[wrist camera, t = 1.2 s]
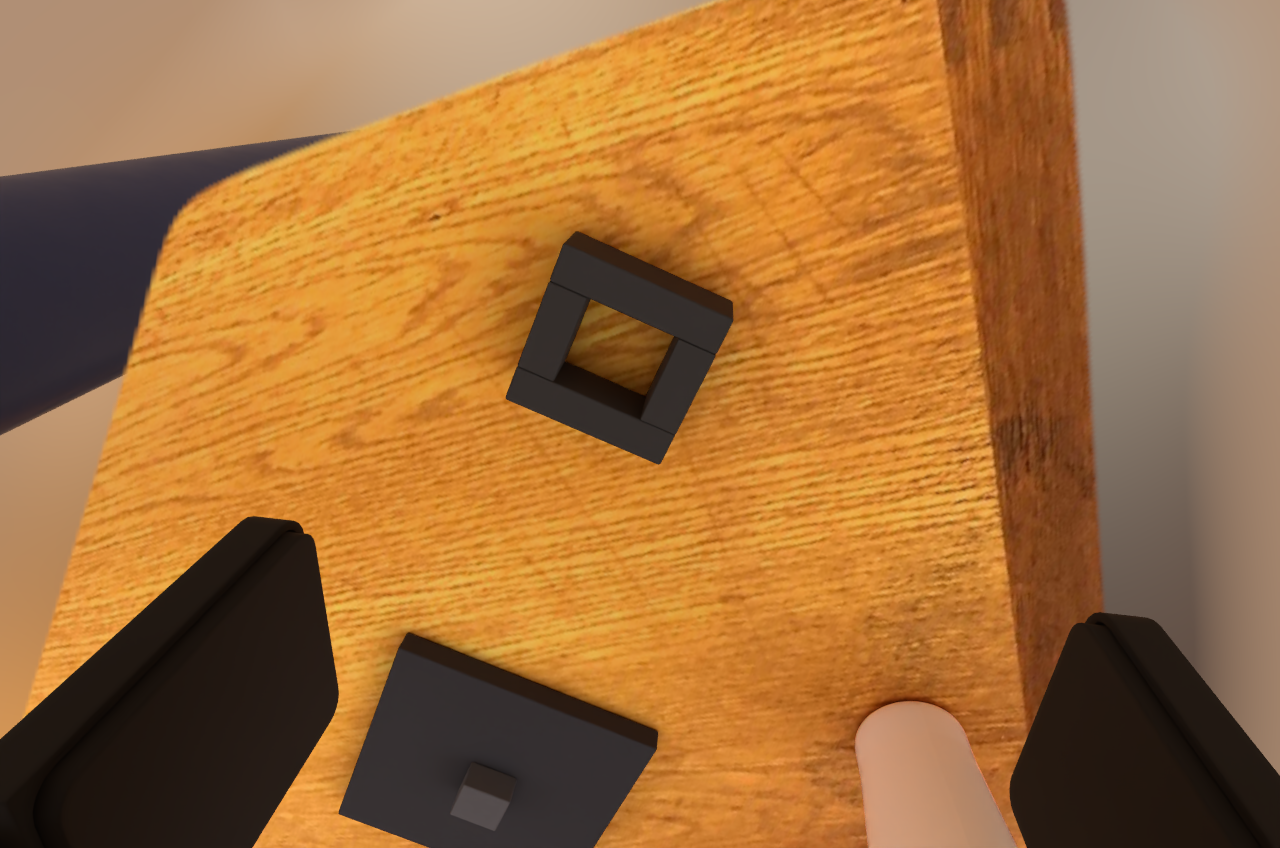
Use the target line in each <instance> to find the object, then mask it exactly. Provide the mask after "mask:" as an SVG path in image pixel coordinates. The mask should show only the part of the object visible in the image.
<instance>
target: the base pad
mask: <svg viewBox="0 0 1280 848" xmlns="http://www.w3.org/2000/svg"><path fill="white" fill-rule="evenodd" d="M657 740H658V732H657V731H655V730H653V729H650V728H648V727H645V726H643V725H640V724H638V723H635V722H633V721H630V720H628V719H625V718H623V717H620V716H618V715H615V714H612V713H610V712H607V711H605V710H602V709H600V708H597V707H595V706H592V705H590V704H587V703H585V702H582V701H580V700H577V699H575V698H572V697H569V696H567V695H564V694H562V693H559V692H557V691H554V690H552V689H549V688H547V687H544V686H542V685H539V684H537V683H534V682H532V681H529V680H527V679H524V678H521V677H519V676H516V675H514V674H511V673H509V672H506V671H504V670H501V669H499V668H496V667H494V666H491V665H489V664H486V663H484V662H481V661H479V660H476V659H473V658H471V657H468V656H466V655H463V654H461V653H458V652H456V651H453V650H451V649H448V648H446V647H443V646H441V645H438V644H436V643H433V642H430V641H428V640H425V639H423V638H420V637H418V636H415V635H413V634H410V633H408V634H406V636H405V638H404V640H403V641H402V643H401V645H400V647H399V649H398V651H397V654H396V657H395V659H394V662H393V665H392V668H391V670H390V673H389V676H388V679H387V681H386V684H385V687H384V690H383V692H382V695H381V698H380V700H379V703H378V706H377V709H376V711H375V714H374V717H373V720H372V722H371V725H370V728H369V730H368V733H367V736H366V739H365V741H364V744H363V747H362V750H361V752H360V755H359V758H358V761H357V763H356V766H355V769H354V771H353V774H352V777H351V780H350V782H349V785H348V788H347V791H346V793H345V796H344V799H343V801H342V804H341V807H340V810H339V814H340V815H343V816H345V817H348V818H351V819H354V820H356V821H359V822H362V823H364V824H367V825H370V826H372V827H375V828H378V829H380V830H383V831H386V832H389V833H391V834H394V835H397V836H399V837H402V838H405V839H407V840H410V841H413V842H416V843H418V844H421V845H424V846H426V847H429V848H594V846H595V844H596V843H597V841H598V840H599V838H600V837H601V835H602V834H603V832H604V830H605V829H606V827H607V826H608V824H609V823H610V821H611V820H612V818H613V816H614V815H615V813H616V812H617V810H618V809H619V807H620V806H621V804H622V802H623V801H624V799H625V798H626V796H627V795H628V793H629V792H630V790H631V788H632V787H633V785H634V784H635V782H636V781H637V779H638V778H639V776H640V774H641V773H642V771H643V770H644V768H645V767H646V765H647V764H648V762H649V760H650V759H651V757H652V756H653V754H654V753H655V751H656V750H657Z"/></svg>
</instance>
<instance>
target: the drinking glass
mask: <svg viewBox="0 0 1280 848" xmlns="http://www.w3.org/2000/svg"><path fill="white" fill-rule="evenodd" d="M855 752H856V758H857V763H858V768H859V773H860V779H861V788H862V797H863V806H864V815H865V825H866V835H867V844H868V848H1018V847H1017V845H1016V843H1015V841H1014V838H1013V836H1012V834H1011V832H1010V830H1009V828H1008V826H1007V824H1006V822H1005V820H1004V818H1003V816H1002V814H1001V812H1000V810H999V808H998V805H997V803H996V801H995V799H994V797H993V795H992V793H991V791H990V789H989V787H988V785H987V783H986V780H985V778H984V776H983V774H982V772H981V770H980V768H979V766H978V763H977V761H976V759H975V757H974V754H973V751H972V749H971V746H970V743H969V741H968V738H967V736H966V733H965V731H964V729H963V727H962V726H961V724H960V723H959V722H958V721H957V719H956V718H955V717H954V716H952V715H951V714H950V713H949V712H947V711H946V710H944V709H942V708H940V707H938V706H935V705H933V704H929V703H925V702H919V701H903V702H896V703H892V704H889V705H886V706H883V707H881V708H879V709H877V710H875V711H874V712H872V713H871V714H870V715H869V716H868V717H867V718H866V719H865V720H864V721H863V722H862V723H861V725H860V727H859V729H858V731H857V734H856V738H855Z"/></svg>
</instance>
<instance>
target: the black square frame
mask: <svg viewBox="0 0 1280 848" xmlns="http://www.w3.org/2000/svg"><path fill="white" fill-rule="evenodd" d="M550 280H551V281H550V282H549V283H548V286H547V288H546V291H545V294H544V296H543V299H542V302H541V304H540V307H539V310H538V312H537V315H536V318H535V320H534V323H533V325H532V328H531V331H530V333H529V336H528V339H527V341H526V344H525V347H524V349H523V352H522V355H521V357H520V360H519V363H518V366H517V368H516V371H515V373H514V376H513V379H512V381H511V384H510V387H509V389H508V392H507V395H506V399H507V400H509V401H511V402H514V403H516V404H518V405H521V406H523V407H525V408H528V409H530V410H532V411H535V412H537V413H539V414H542V415H544V416H546V417H549V418H551V419H553V420H556V421H558V422H560V423H563V424H565V425H567V426H570V427H572V428H574V429H577V430H579V431H581V432H584V433H586V434H588V435H591V436H593V437H595V438H598V439H600V440H602V441H605V442H607V443H609V444H612V445H614V446H616V447H619V448H621V449H623V450H626V451H628V452H630V453H633V454H635V455H637V456H640V457H642V458H644V459H647V460H649V461H651V462H654V463H656V464H661V462H662V460H663V458H664V456H665V454H666V452H667V450H668V448H669V446H670V444H671V442H672V440H673V438H674V436H675V434H676V433H677V431H678V429H679V427H680V425H681V423H682V421H683V419H684V417H685V415H686V413H687V411H688V409H689V407H690V405H691V403H692V401H693V399H694V397H695V395H696V393H697V392H698V390H699V388H700V386H701V384H702V382H703V380H704V378H705V376H706V374H707V372H708V370H709V368H710V366H711V364H712V362H713V360H714V358H715V354H716V353H717V352H718V350H719V348H720V346H721V344H722V342H723V340H724V338H725V336H726V334H727V332H728V330H729V328H730V326H731V324H732V323H733V303H732V301H730V300H728V299H726V298H723V297H721V296H719V295H717V294H715V293H712V292H710V291H708V290H706V289H703V288H701V287H699V286H697V285H695V284H692V283H690V282H688V281H686V280H684V279H681V278H679V277H677V276H675V275H673V274H670V273H668V272H666V271H664V270H662V269H659V268H657V267H655V266H653V265H651V264H648V263H646V262H644V261H642V260H640V259H637V258H635V257H633V256H631V255H629V254H626V253H624V252H622V251H620V250H618V249H615V248H613V247H611V246H609V245H606V244H604V243H602V242H600V241H598V240H595V239H593V238H591V237H589V236H587V235H584V234H582V233H580V232H578V231H576V232H575V233H574V234H573V235H572V236H571V237H570V238H569V239H568V240H567V241H566V242H565V243H564V244H563V246H562V249H561V251H560V254H559V257H558V259H557V262H556V265H555V267H554V270H553V272H552V275H551V278H550ZM590 299H592V300H594V301H597V302H599V303H601V304H603V305H606V306H608V307H610V308H612V309H615V310H617V311H619V312H621V313H624V314H626V315H628V316H630V317H632V318H635V319H637V320H639V321H641V322H644V323H646V324H648V325H650V326H653V327H655V328H657V329H659V330H662V331H664V332H666V333H668V334H671V335H673V336H674V338H673V340H672V342H671V344H670V346H669V348H668V350H667V352H666V354H665V357H664V359H663V361H662V363H661V365H660V367H659V369H658V371H657V373H656V375H655V378H654V380H653V382H652V384H651V386H650V388H649V390H648V392H647V394H646V397H645V396H643V395H641V394H639V393H636V392H634V391H632V390H629V389H627V388H625V387H623V386H620V385H618V384H616V383H613V382H611V381H609V380H607V379H604V378H602V377H600V376H597V375H595V374H593V373H590V372H588V371H586V370H584V369H581V368H579V367H577V366H574V365H572V364H570V363H568V362H565V360H566V358H567V356H568V353H569V351H570V348H571V346H572V343H573V341H574V339H575V336H576V334H577V331H578V329H579V326H580V324H581V321H582V319H583V317H584V314H585V312H586V309H587V307H588V304H589V302H590Z"/></svg>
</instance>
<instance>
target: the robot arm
mask: <svg viewBox="0 0 1280 848" xmlns="http://www.w3.org/2000/svg"><path fill="white" fill-rule="evenodd" d="M338 696H339V691H338V683H337V677H336V670H335V664H334V658H333V652H332V646H331V639H330V633H329V627H328V621H327V614H326V608H325V602H324V596H323V590H322V583H321V577H320V571H319V565H318V558H317V552H316V546H315V542H314V539H313V538H312V536H311V535H308V534H304V532H303V528H302V527H301V526H300V524H299V523H297V522H295V521H291V520H282V519H273V518H264V517H255V516H253V517H247V518H246V519H244V520H243V521H241V522H240V523H239V524H238V525H237V526H236V527H234V528H233V529H232V530H231V531H230V532H229V533H228V534H227V535H226V536H224V537H223V538H222V539H221V540H220V541H219V542H218V543H217V544H216V545H215V546H213V547H212V548H211V549H210V550H209V551H208V552H207V553H206V554H205V555H203V556H202V557H201V558H200V559H199V560H198V561H197V562H196V563H195V564H194V565H192V566H191V567H190V568H189V569H188V570H187V571H186V572H185V573H184V574H182V575H181V576H180V577H179V578H178V579H177V580H176V581H175V582H174V583H173V584H171V585H170V586H169V587H168V588H167V589H166V590H165V591H164V592H163V593H161V594H160V595H159V596H158V597H157V598H156V599H155V600H154V601H153V602H152V603H150V604H149V605H148V606H147V607H146V608H145V609H144V610H143V611H142V612H140V613H139V614H138V615H137V616H136V617H135V618H134V619H133V620H132V621H131V622H129V623H128V624H127V625H126V626H125V627H124V628H123V629H122V630H121V631H119V632H118V633H117V634H116V635H115V636H114V637H113V638H112V639H111V640H109V641H108V642H107V643H106V644H105V645H104V646H103V647H102V648H101V649H100V650H98V651H97V652H96V653H95V654H94V655H93V656H92V657H91V658H90V659H88V660H87V661H86V662H85V663H84V664H83V665H82V666H81V667H80V668H79V669H77V670H76V671H75V672H74V673H73V674H72V675H71V676H70V677H69V678H67V679H66V680H65V681H64V682H63V683H62V684H61V685H60V686H59V687H58V688H56V689H55V690H54V691H53V692H52V693H51V694H50V695H49V696H48V697H46V698H45V699H44V700H43V701H42V702H41V703H40V704H39V705H38V706H37V707H35V708H34V709H33V710H32V711H31V712H30V713H29V714H28V715H27V716H25V717H24V718H23V719H22V720H21V721H20V722H19V723H18V724H17V725H16V726H15V727H13V728H12V729H11V730H10V731H9V732H8V733H7V734H6V735H4V736H3V737H2V738H1V739H0V848H252V847H253V846H254V844H255V842H256V841H257V839H258V838H259V836H260V834H261V833H262V831H263V829H264V828H265V826H266V825H267V823H268V821H269V820H270V818H271V817H272V815H273V813H274V812H275V810H276V809H277V807H278V805H279V804H280V802H281V800H282V799H283V797H284V796H285V794H286V792H287V791H288V789H289V788H290V786H291V784H292V783H293V781H294V780H295V778H296V776H297V775H298V773H299V771H300V770H301V768H302V767H303V765H304V763H305V762H306V760H307V759H308V757H309V755H310V754H311V752H312V750H313V749H314V747H315V746H316V744H317V742H318V741H319V739H320V738H321V736H322V734H323V733H324V731H325V730H326V728H327V726H328V725H329V723H330V721H331V719H332V718H333V716H334V713H335V710H336V707H337V703H338ZM1010 801H1011V806H1012V810H1013V813H1014V816H1015V818H1016V821H1017V823H1018V826H1019V828H1020V831H1021V833H1022V836H1023V839H1024V841H1025V844H1026V846H1027V848H1280V776H1279V774H1278V773H1277V772H1276V770H1275V769H1274V768H1273V767H1272V766H1271V764H1270V763H1269V762H1268V760H1267V759H1266V758H1265V757H1264V755H1263V754H1262V753H1261V752H1260V750H1259V749H1258V748H1257V747H1256V745H1255V744H1254V743H1253V742H1252V740H1250V738H1249V737H1248V736H1247V734H1246V733H1245V732H1244V730H1243V729H1242V728H1241V727H1240V725H1239V724H1238V723H1237V722H1236V720H1235V719H1234V718H1233V716H1232V715H1231V714H1230V713H1229V711H1228V710H1227V709H1226V708H1225V707H1224V705H1223V704H1222V703H1221V702H1220V700H1219V699H1218V698H1217V696H1216V695H1215V694H1214V693H1213V691H1212V690H1211V689H1210V688H1209V686H1208V685H1207V684H1206V683H1205V681H1204V680H1203V679H1202V678H1201V676H1200V675H1199V674H1198V673H1197V671H1196V670H1195V669H1194V667H1193V666H1192V665H1191V664H1190V662H1189V661H1188V660H1187V659H1186V657H1185V656H1184V655H1183V654H1182V653H1181V651H1180V650H1179V649H1178V647H1177V646H1176V645H1175V644H1174V642H1173V641H1172V640H1171V639H1170V637H1169V636H1168V635H1167V634H1166V632H1165V631H1164V630H1163V629H1162V627H1161V626H1160V625H1159V624H1158V623H1156V622H1155V621H1154V620H1152V619H1149V618H1145V617H1144V618H1143V617H1136V616H1127V615H1118V614H1109V613H1101V612H1099V613H1094V614H1092V615H1091V616H1090V617H1089V618H1088V619H1087V621H1086V622H1085V623H1077V624H1076V625H1074V626H1073V627H1072V629H1071V631H1070V633H1069V635H1068V638H1067V640H1066V643H1065V645H1064V648H1063V650H1062V653H1061V655H1060V658H1059V660H1058V663H1057V665H1056V668H1055V670H1054V673H1053V675H1052V678H1051V680H1050V682H1049V685H1048V687H1047V690H1046V692H1045V695H1044V697H1043V700H1042V702H1041V705H1040V707H1039V710H1038V712H1037V715H1036V717H1035V720H1034V722H1033V725H1032V727H1031V730H1030V732H1029V735H1028V737H1027V740H1026V742H1025V745H1024V747H1023V750H1022V752H1021V755H1020V757H1019V760H1018V762H1017V764H1016V767H1015V769H1014V772H1013V774H1012V777H1011V781H1010Z"/></svg>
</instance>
